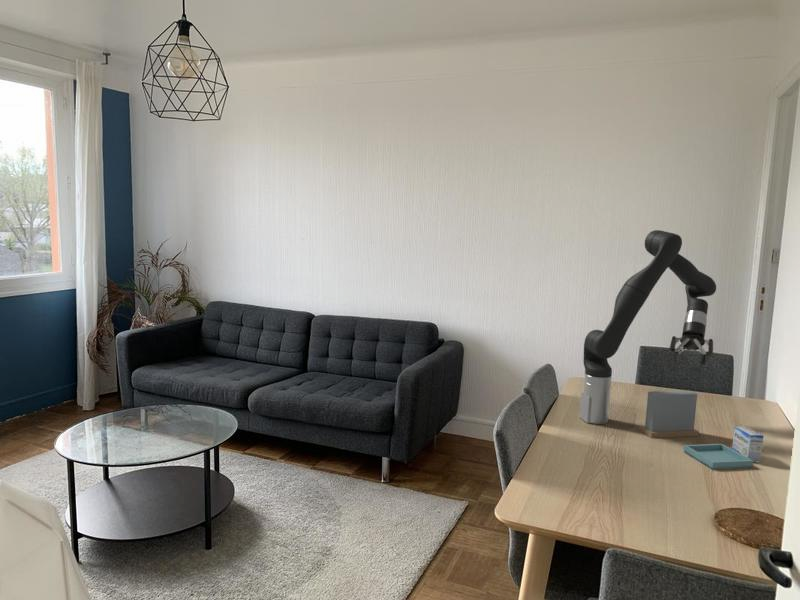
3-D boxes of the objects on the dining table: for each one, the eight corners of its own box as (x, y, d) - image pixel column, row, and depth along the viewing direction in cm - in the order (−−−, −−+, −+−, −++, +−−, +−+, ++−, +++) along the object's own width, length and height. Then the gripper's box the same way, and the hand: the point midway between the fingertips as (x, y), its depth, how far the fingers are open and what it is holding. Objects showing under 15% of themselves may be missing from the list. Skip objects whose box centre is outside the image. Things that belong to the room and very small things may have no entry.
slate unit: (651, 437, 201) (654, 396, 199) (639, 430, 208) (643, 390, 206) (698, 435, 204) (702, 395, 202) (685, 428, 211) (689, 389, 209)
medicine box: (731, 452, 190) (734, 426, 189) (744, 452, 190) (747, 426, 189) (747, 462, 182) (750, 435, 181) (761, 462, 183) (764, 435, 181)
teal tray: (712, 469, 176) (712, 462, 175) (683, 451, 189) (683, 445, 189) (752, 467, 178) (753, 460, 178) (721, 450, 191) (721, 443, 191)
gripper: (672, 319, 224) (666, 357, 217) (714, 321, 215) (709, 361, 209) (675, 328, 229) (669, 366, 223) (717, 331, 221) (711, 370, 214)
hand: (688, 364), depth 216 cm, fingers open, 8 cm apart
